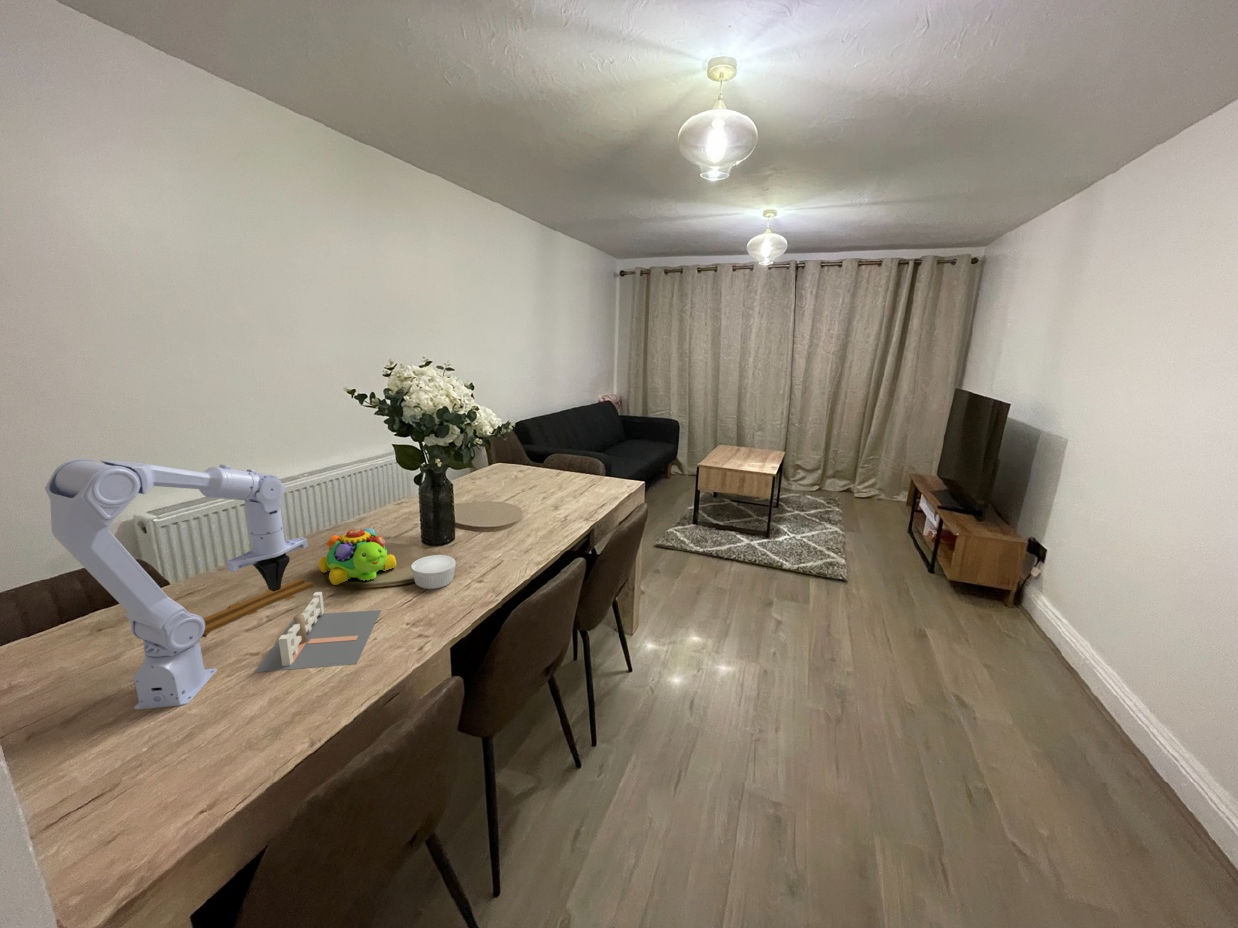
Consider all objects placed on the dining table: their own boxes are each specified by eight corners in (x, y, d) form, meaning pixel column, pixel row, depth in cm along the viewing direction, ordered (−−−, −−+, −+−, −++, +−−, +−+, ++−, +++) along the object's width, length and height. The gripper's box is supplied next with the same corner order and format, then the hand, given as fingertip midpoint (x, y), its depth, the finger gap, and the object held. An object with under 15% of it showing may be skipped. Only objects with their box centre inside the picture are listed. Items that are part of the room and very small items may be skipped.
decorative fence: (178, 631, 107) (204, 645, 103) (176, 623, 106) (202, 636, 102) (294, 582, 129) (319, 592, 125) (293, 575, 128) (319, 585, 124)
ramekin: (413, 573, 136) (412, 556, 134) (456, 569, 139) (455, 552, 138) (410, 594, 125) (409, 575, 124) (456, 589, 129) (455, 570, 128)
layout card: (356, 665, 98) (356, 663, 98) (254, 674, 94) (254, 671, 94) (381, 611, 117) (381, 609, 117) (297, 616, 113) (296, 614, 113)
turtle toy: (343, 601, 121) (338, 557, 118) (314, 568, 136) (310, 528, 133) (411, 580, 132) (409, 539, 129) (378, 551, 148) (375, 515, 145)
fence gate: (307, 636, 105) (305, 614, 104) (300, 636, 105) (297, 615, 103) (324, 611, 114) (321, 591, 113) (317, 612, 114) (315, 592, 112)
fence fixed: (291, 665, 97) (287, 638, 95) (281, 665, 96) (277, 639, 95) (308, 639, 105) (305, 614, 103) (299, 639, 104) (295, 614, 103)
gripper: (291, 515, 109) (298, 571, 113) (214, 536, 97) (225, 598, 100) (310, 522, 106) (317, 579, 110) (234, 545, 94) (244, 608, 97)
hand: (274, 589), depth 105 cm, fingers closed
